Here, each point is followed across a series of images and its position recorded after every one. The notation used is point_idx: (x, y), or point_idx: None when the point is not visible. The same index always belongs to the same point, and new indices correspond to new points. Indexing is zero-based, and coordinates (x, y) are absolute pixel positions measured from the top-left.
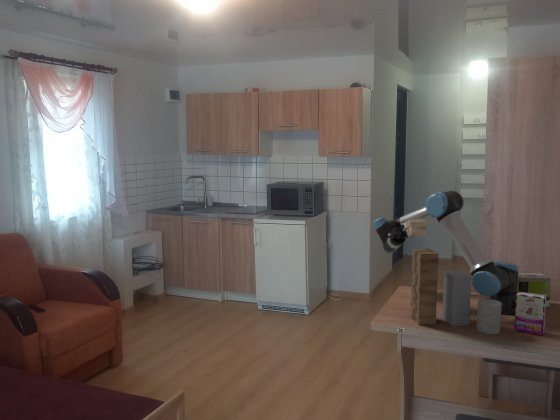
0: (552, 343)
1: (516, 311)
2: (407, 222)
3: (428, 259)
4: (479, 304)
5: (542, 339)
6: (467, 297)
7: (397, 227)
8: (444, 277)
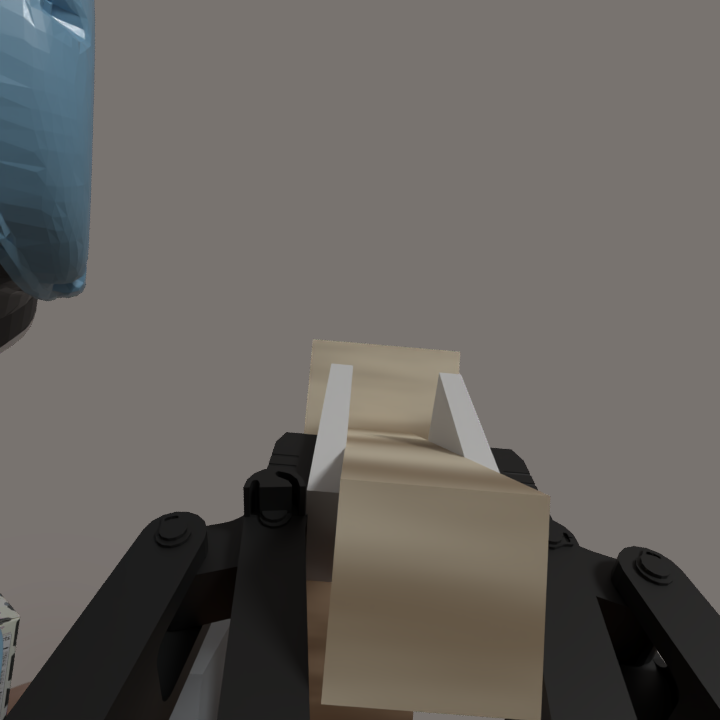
0: (22, 688)
1: (9, 689)
2: (438, 391)
3: None
4: None
5: (10, 710)
6: None
7: (617, 565)
8: (200, 711)
